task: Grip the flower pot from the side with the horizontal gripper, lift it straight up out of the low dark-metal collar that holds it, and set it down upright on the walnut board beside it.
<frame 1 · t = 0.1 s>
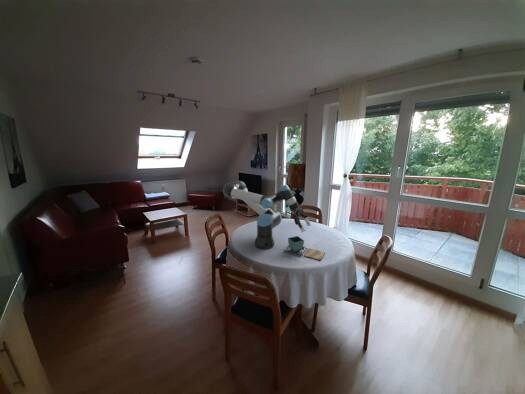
hand: (306, 228, 156), 15 cm above the table, tool tilted 35°, fingers open, 13 cm apart
metal collar: (295, 250, 154), on the table
flower pot: (295, 250, 155), resting in metal collar
walnut board: (314, 254, 149), on the table
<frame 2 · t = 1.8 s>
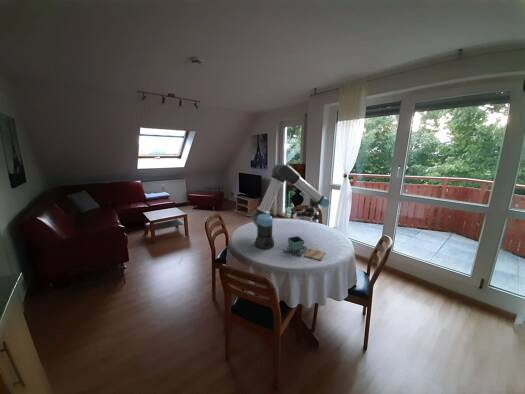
hand: (301, 219, 157), 22 cm above the table, tool horizontal, fingers open, 13 cm apart
nothing on the table moved.
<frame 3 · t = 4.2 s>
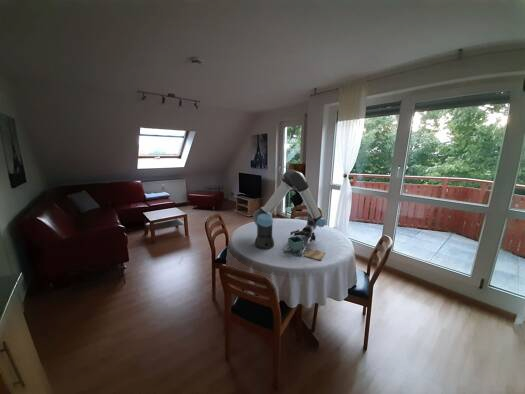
hand: (299, 240, 157), 6 cm above the table, tool horizontal, fingers open, 13 cm apart
nothing on the table moved.
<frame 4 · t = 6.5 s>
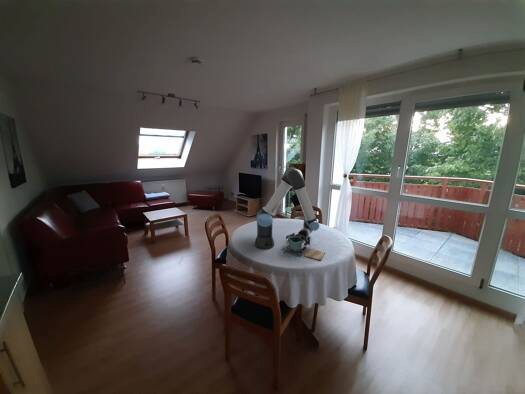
hand: (293, 244, 150), 7 cm above the table, tool horizontal, fingers closed on flower pot, 11 cm apart
flower pot: (295, 250, 154), resting in metal collar, touching gripper
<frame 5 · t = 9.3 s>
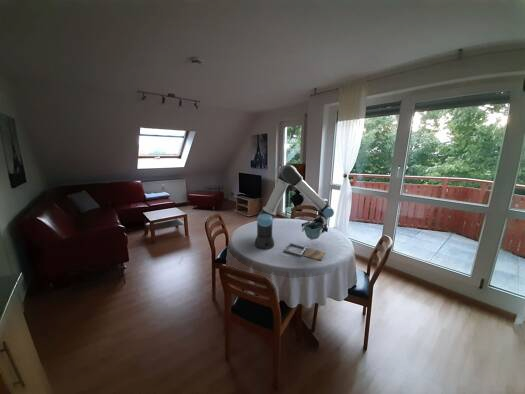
hand: (311, 231, 143), 18 cm above the table, tool horizontal, fingers closed on flower pot, 11 cm apart
flower pot: (312, 238, 147), point 12 cm above the table, touching gripper
when the fingers open (9 cm above the table, at t = 12.3 s): flower pot drops 1 cm, resting on walnut board.
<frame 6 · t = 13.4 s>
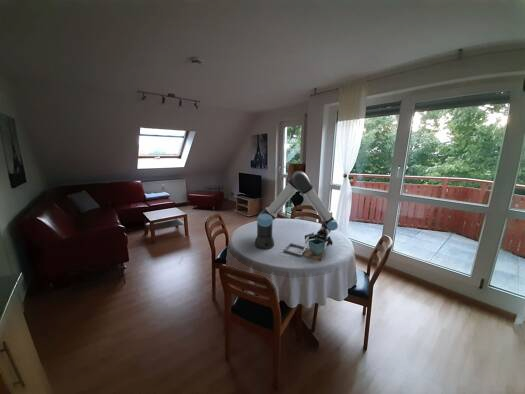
hand: (314, 244, 145), 9 cm above the table, tool horizontal, fingers open, 13 cm apart
flower pot: (316, 253, 148), point 1 cm above the table, touching walnut board
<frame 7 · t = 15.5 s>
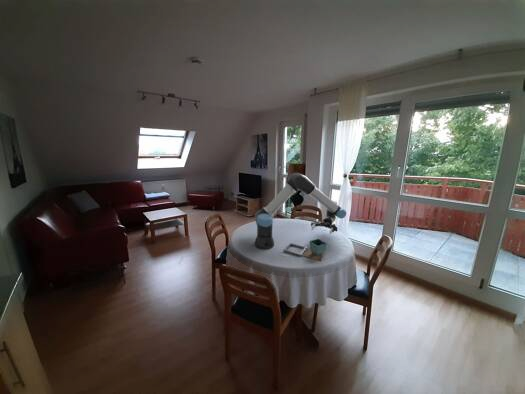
hand: (321, 230, 154), 15 cm above the table, tool horizontal, fingers open, 13 cm apart
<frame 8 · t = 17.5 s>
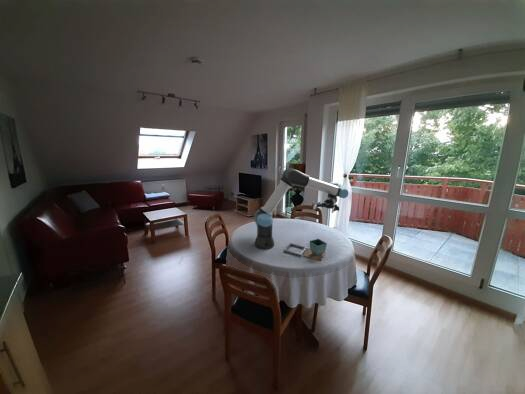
hand: (322, 209, 153), 30 cm above the table, tool horizontal, fingers open, 13 cm apart
nothing on the table moved.
at the end: flower pot inside the target area on the walnut board (1.8 cm from its centre), point 0.6 cm above the walnut board's base; flower pot tilted 0°; the gripper is holding nothing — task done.
